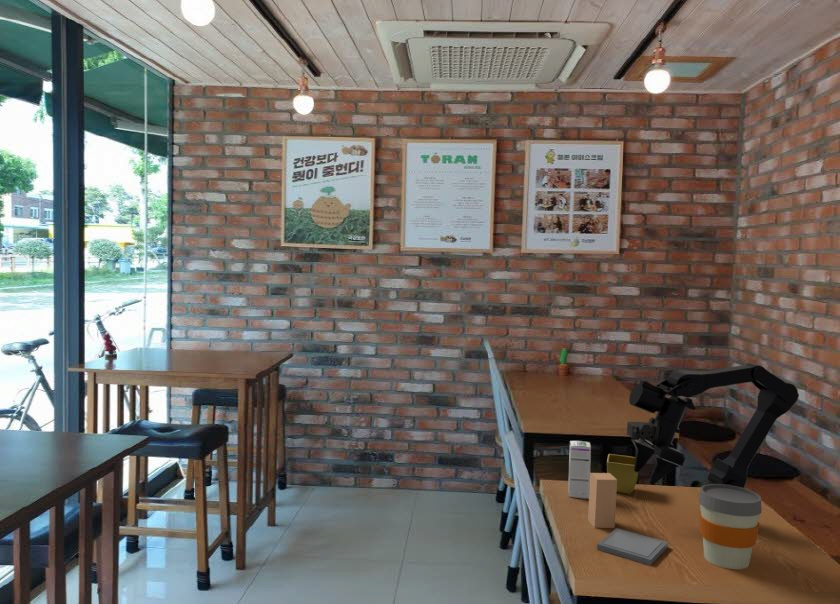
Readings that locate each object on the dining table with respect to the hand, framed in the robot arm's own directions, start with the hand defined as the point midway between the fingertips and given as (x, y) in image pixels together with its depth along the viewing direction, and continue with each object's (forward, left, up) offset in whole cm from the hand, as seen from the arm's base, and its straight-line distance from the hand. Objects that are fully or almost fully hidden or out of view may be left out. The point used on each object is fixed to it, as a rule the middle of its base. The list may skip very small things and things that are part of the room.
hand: (643, 477), depth 163 cm
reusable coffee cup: (-21, +8, -12) cm, 26 cm away
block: (+8, +7, -12) cm, 16 cm away
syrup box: (+21, -9, -12) cm, 26 cm away
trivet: (-3, +16, -12) cm, 20 cm away
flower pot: (+13, -21, -12) cm, 27 cm away
